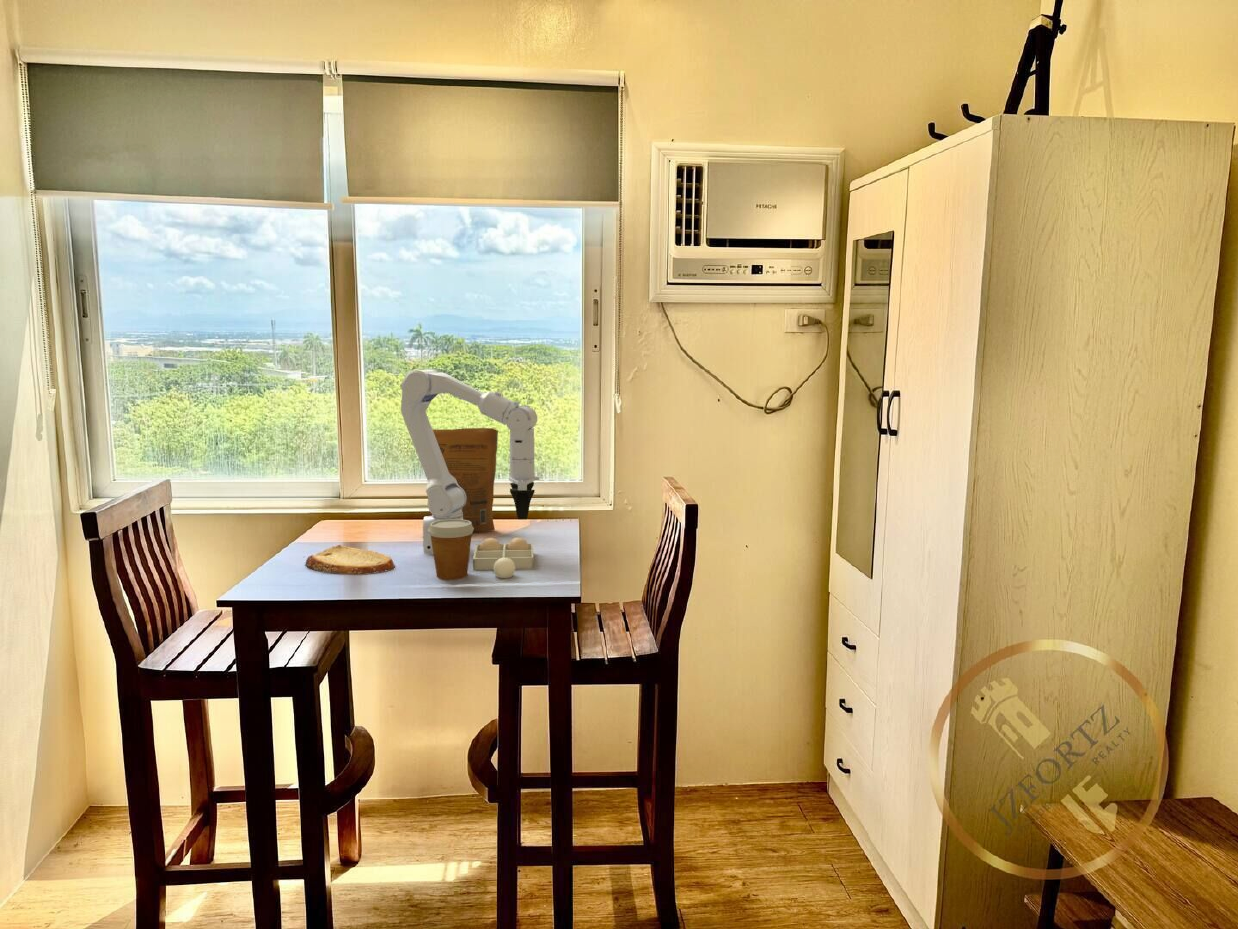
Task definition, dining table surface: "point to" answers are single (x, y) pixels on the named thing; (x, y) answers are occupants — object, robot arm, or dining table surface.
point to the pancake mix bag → (472, 470)
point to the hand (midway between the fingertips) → (522, 515)
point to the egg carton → (489, 558)
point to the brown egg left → (490, 545)
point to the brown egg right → (518, 544)
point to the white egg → (504, 568)
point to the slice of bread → (349, 561)
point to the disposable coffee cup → (451, 547)
